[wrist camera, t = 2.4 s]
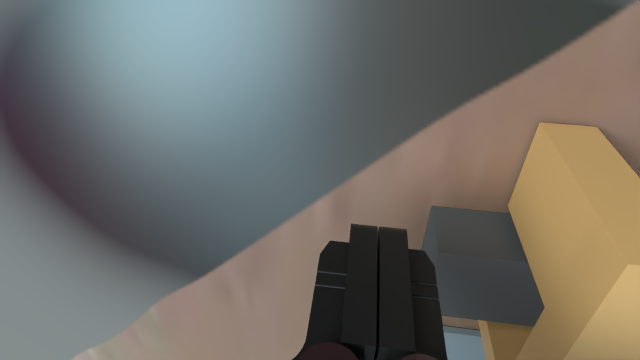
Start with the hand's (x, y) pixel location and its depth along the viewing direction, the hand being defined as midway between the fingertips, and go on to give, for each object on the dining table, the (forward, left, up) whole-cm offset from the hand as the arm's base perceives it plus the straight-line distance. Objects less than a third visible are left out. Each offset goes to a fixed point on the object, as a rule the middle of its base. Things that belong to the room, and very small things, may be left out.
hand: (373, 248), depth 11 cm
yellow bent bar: (-7, +4, -6) cm, 10 cm away
